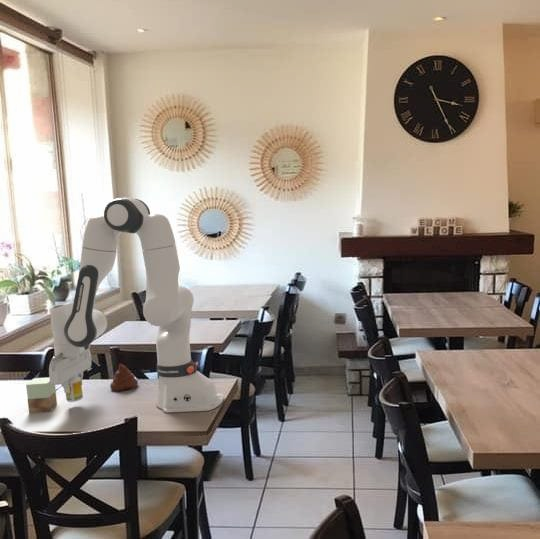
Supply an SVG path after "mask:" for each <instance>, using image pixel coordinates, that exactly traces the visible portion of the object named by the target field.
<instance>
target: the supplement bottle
mask: <svg viewBox="0 0 540 539" xmlns="http://www.w3.org/2000/svg"><path fill="white" fill-rule="evenodd" d="M77 376H78V372H76V373H75V376H74V377H73V378H71V379H69V380H68V381H69V383H68V385H69V387H71V392H69V393H65V398H66V401H67V402H68V403H75V402H79V401H81V400H82V399H83V398H84V397H83V396H84V395H83V387H82V385H83V384H82V385H81V379H80V377H77Z"/></svg>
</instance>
